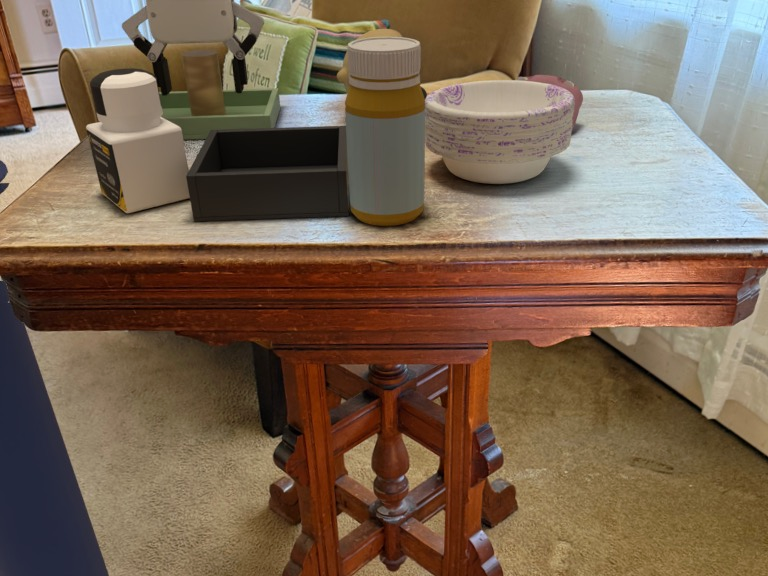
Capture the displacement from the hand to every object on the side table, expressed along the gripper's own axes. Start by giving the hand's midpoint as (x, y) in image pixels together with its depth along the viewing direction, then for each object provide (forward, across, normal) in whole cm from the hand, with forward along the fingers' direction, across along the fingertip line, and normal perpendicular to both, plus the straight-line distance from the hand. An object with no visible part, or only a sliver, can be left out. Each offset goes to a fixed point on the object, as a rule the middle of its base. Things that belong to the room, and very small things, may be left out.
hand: (203, 91), depth 96 cm
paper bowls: (+4, -34, +22) cm, 41 cm away
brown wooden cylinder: (+3, 0, 0) cm, 3 cm away
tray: (+4, 0, 0) cm, 4 cm away
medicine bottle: (+4, +2, +26) cm, 27 cm away
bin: (+4, -11, +26) cm, 28 cm away
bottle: (+4, -22, +33) cm, 40 cm away
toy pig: (+4, -23, -1) cm, 24 cm away
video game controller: (+4, -42, +6) cm, 43 cm away
